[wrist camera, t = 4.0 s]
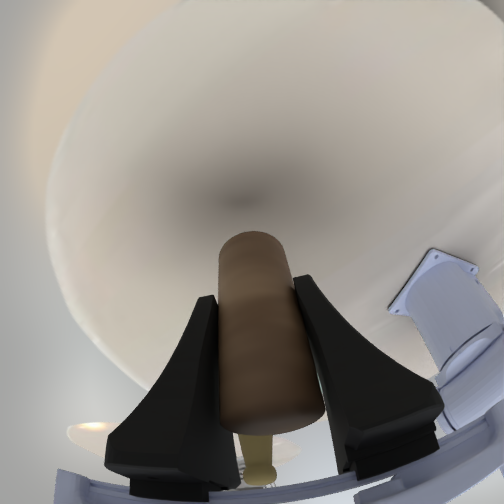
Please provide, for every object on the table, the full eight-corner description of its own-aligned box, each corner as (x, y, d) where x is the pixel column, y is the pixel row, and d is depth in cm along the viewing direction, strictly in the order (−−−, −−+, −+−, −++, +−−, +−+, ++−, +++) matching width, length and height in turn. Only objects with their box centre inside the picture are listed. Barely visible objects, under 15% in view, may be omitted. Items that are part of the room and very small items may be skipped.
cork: (242, 432, 44) (247, 488, 35) (231, 422, 41) (235, 484, 32) (276, 427, 44) (283, 484, 35) (268, 416, 40) (276, 480, 31)
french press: (237, 454, 54) (245, 550, 34) (281, 455, 58) (293, 543, 38) (221, 462, 59) (227, 547, 39) (262, 464, 63) (271, 543, 43)
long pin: (294, 240, 14) (345, 396, 7) (271, 289, 15) (298, 435, 9) (228, 224, 13) (235, 394, 7) (211, 277, 15) (210, 433, 8)
